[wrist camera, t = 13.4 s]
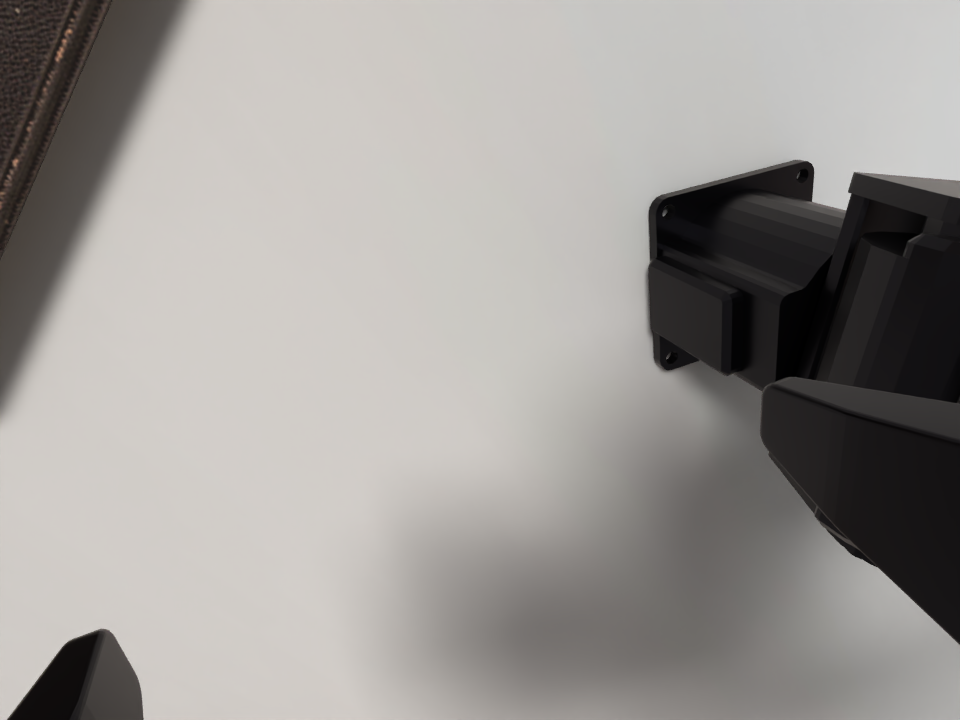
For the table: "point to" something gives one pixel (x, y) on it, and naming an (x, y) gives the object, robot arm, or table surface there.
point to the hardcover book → (37, 86)
